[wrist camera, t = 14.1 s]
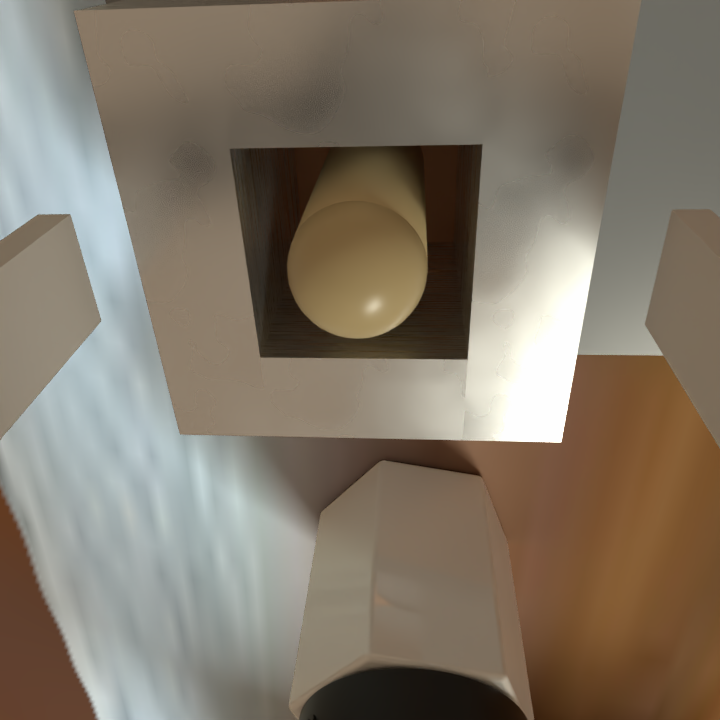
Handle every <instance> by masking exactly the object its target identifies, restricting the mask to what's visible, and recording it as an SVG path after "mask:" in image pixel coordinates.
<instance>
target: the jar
mask: <svg viewBox="0 0 720 720" xmlns="http://www.w3.org/2000/svg"><path fill="white" fill-rule="evenodd" d="M289 709H290V711H291V712H292V713H293V715H294V716H295V717H296V718H297V719H298V720H534V715H533V708H532V702H531V695H530V688H529V682H528V675H527V668H526V662H525V655H524V649H523V642H522V635H521V629H520V622H519V615H518V609H517V602H516V595H515V589H514V582H513V575H512V569H511V562H510V555H509V549H508V542H507V540H506V537H505V535H504V532H503V530H502V527H501V524H500V522H499V519H498V517H497V514H496V512H495V509H494V506H493V504H492V501H491V499H490V496H489V494H488V491H487V488H486V486H485V483H484V480H483V479H482V477H480V476H478V475H472V474H466V473H460V472H454V471H447V470H441V469H435V468H429V467H423V466H417V465H410V464H404V463H398V462H392V461H386V460H382V461H380V462H378V463H377V464H376V465H375V466H374V467H372V468H371V469H370V470H369V471H368V472H367V473H365V474H364V475H363V476H362V477H361V478H360V479H359V480H357V481H356V482H355V483H354V484H353V485H352V486H350V487H349V488H348V489H347V490H346V491H345V492H344V493H342V494H341V495H340V496H339V497H338V498H337V499H336V500H334V501H333V502H332V503H331V504H330V505H329V506H327V507H326V508H325V509H324V510H323V511H322V512H321V514H320V519H319V525H318V531H317V537H316V543H315V549H314V555H313V561H312V567H311V573H310V579H309V585H308V591H307V597H306V603H305V609H304V615H303V621H302V627H301V634H300V640H299V646H298V652H297V658H296V664H295V670H294V676H293V682H292V688H291V694H290V700H289Z"/></svg>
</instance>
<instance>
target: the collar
mask: <svg viewBox="0 0 720 720" xmlns="http://www.w3.org/2000/svg"><path fill="white" fill-rule="evenodd" d="M640 5H641V0H121V1H117V2H112V3H107V4H103V5H98V6H94V7H89V8H84V9H80V10H75V11H74V14H75V18H76V22H77V26H78V30H79V34H80V38H81V42H82V46H83V50H84V54H85V58H86V62H87V66H88V70H89V74H90V78H91V82H92V86H93V90H94V94H95V98H96V102H97V106H98V110H99V114H100V118H101V122H102V126H103V130H104V134H105V138H106V142H107V146H108V150H109V154H110V158H111V162H112V166H113V170H114V173H115V177H116V181H117V185H118V189H119V193H120V197H121V201H122V205H123V209H124V213H125V217H126V221H127V225H128V229H129V233H130V237H131V241H132V245H133V249H134V253H135V257H136V261H137V265H138V269H139V273H140V277H141V281H142V285H143V289H144V293H145V297H146V301H147V305H148V309H149V313H150V317H151V321H152V325H153V329H154V333H155V337H156V341H157V345H158V349H159V353H160V357H161V361H162V365H163V369H164V373H165V377H166V381H167V385H168V389H169V393H170V397H171V401H172V405H173V409H174V413H175V417H176V421H177V425H178V429H179V433H180V434H184V435H232V436H281V437H330V438H379V439H428V440H477V441H526V442H561V440H562V434H563V429H564V423H565V418H566V412H567V407H568V401H569V396H570V390H571V385H572V379H573V374H574V368H575V363H576V357H577V352H578V346H579V341H580V335H581V330H582V324H583V319H584V313H585V308H586V302H587V297H588V291H589V286H590V280H591V275H592V269H593V264H594V258H595V253H596V247H597V242H598V236H599V231H600V225H601V220H602V214H603V209H604V203H605V198H606V192H607V187H608V181H609V176H610V170H611V165H612V159H613V154H614V148H615V143H616V137H617V132H618V126H619V121H620V115H621V110H622V104H623V99H624V93H625V88H626V82H627V77H628V71H629V66H630V60H631V55H632V49H633V44H634V38H635V33H636V27H637V22H638V16H639V11H640ZM415 145H458V157H457V178H456V198H455V219H454V240H453V242H427V261H428V271H427V281H426V285H425V289H424V292H423V294H422V297H421V299H420V301H419V303H418V304H417V306H416V308H415V309H414V310H413V312H412V313H411V314H410V315H409V316H408V317H407V318H406V319H405V320H404V321H403V322H402V323H401V324H399V325H398V326H397V327H395V328H393V329H392V330H390V331H388V332H386V333H383V334H381V335H378V336H375V337H370V338H361V339H354V338H345V337H340V336H337V335H334V334H331V333H329V332H327V331H325V330H323V329H321V328H320V327H318V326H317V325H315V324H314V323H313V322H312V321H311V320H310V319H309V318H307V316H306V315H305V314H304V313H303V312H302V311H301V309H300V308H299V306H298V305H297V303H296V301H295V299H294V297H293V295H292V292H291V289H290V286H289V281H288V274H287V261H288V254H289V250H290V246H291V243H292V240H293V238H294V236H295V233H296V231H297V228H298V226H299V223H300V221H301V218H300V207H299V196H298V185H297V174H296V163H295V152H294V148H298V147H357V146H415Z"/></svg>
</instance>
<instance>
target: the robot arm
mask: <svg viewBox="0 0 720 720" xmlns="http://www.w3.org/2000/svg"><path fill="white" fill-rule="evenodd" d="M100 322H101V318H100V314H99V311H98V308H97V304H96V301H95V297H94V294H93V290H92V287H91V284H90V280H89V277H88V273H87V270H86V266H85V263H84V260H83V256H82V253H81V249H80V246H79V242H78V239H77V236H76V232H75V229H74V225H73V222H72V219H71V215H70V214H49V215H37V216H35V217H34V218H32V219H31V220H30V221H28V222H27V223H25V224H24V225H22V226H21V227H19V228H18V229H17V230H15V231H14V232H12V233H11V234H9V235H8V236H7V237H5V238H4V239H2V240H1V241H0V439H1V438H2V437H3V436H4V435H5V433H6V432H7V431H8V430H9V429H10V428H11V426H12V425H13V424H14V423H15V422H16V421H17V419H18V418H19V417H20V416H21V415H22V414H23V412H24V411H25V410H26V409H27V408H28V406H29V405H30V404H31V403H32V402H33V401H34V399H35V398H36V397H37V396H38V395H39V394H40V392H41V391H42V390H43V389H44V388H45V387H46V385H47V384H48V383H49V382H50V381H51V379H52V378H53V377H54V376H55V375H56V374H57V372H58V371H59V370H60V369H61V368H62V367H63V365H64V364H65V363H66V362H67V361H68V359H69V358H70V357H71V356H72V355H73V354H74V352H75V351H76V350H77V349H78V348H79V347H80V345H81V344H82V343H83V342H84V341H85V340H86V338H87V337H88V336H89V335H90V334H91V332H92V331H93V330H94V329H95V328H96V327H97V325H98V324H99V323H100ZM645 326H646V327H647V329H648V331H649V332H650V334H651V336H652V337H653V339H654V341H655V342H656V344H657V346H658V347H659V349H660V350H661V352H662V354H663V355H664V357H665V359H666V360H667V362H668V364H669V365H670V367H671V369H672V370H673V372H674V374H675V375H676V377H677V379H678V380H679V382H680V383H681V385H682V387H683V388H684V390H685V392H686V393H687V395H688V397H689V398H690V400H691V402H692V403H693V405H694V407H695V408H696V410H697V411H698V413H699V415H700V416H701V418H702V420H703V421H704V423H705V425H706V426H707V428H708V430H709V431H710V433H711V435H712V436H713V438H714V439H715V441H716V443H717V444H718V446H719V448H720V218H719V217H718V216H717V215H716V214H715V213H714V212H713V211H712V210H710V209H678V210H672V211H671V216H670V220H669V224H668V228H667V232H666V237H665V241H664V245H663V249H662V254H661V258H660V262H659V266H658V270H657V275H656V279H655V283H654V287H653V291H652V296H651V300H650V304H649V308H648V312H647V317H646V321H645Z"/></svg>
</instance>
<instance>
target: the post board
mask: <svg viewBox="0 0 720 720" xmlns="http://www.w3.org/2000/svg"><path fill="white" fill-rule="evenodd" d="M117 1H121V0H106V4H107V3H112V2H117ZM294 152H295V163H296V174H297V185H298V196H299V207H300V218H301V221H300V223H299V226H298V228H297V231H296V233H295V236H294V238H293V240H292V243H291V246H290V250H289V254H288V261H287V274H288V281H289V286H290V289H291V292H292V295H293V297H294V299H295V301H296V303H297V305H298V306H299V308H300V309H301V311H302V312H303V313H304V314H305V315H306V316H307V318H309V319H310V320H311V321H312V322H313V323H314V324H315V325H317V326H318V327H320V328H321V329H323V330H325V331H327V332H329V333H331V334H334V335H337V336H340V337H345V338H354V339H361V338H370V337H375V336H378V335H381V334H383V333H386V332H388V331H390V330H392V329H393V328H395V327H397V326H398V325H399V324H401V323H402V322H403V321H404V320H405V319H406V318H407V317H408V316H409V315H410V314H411V313H412V312H413V310H414V309H415V308H416V306H417V304H418V303H419V301H420V299H421V297H422V294H423V292H424V289H425V285H426V281H427V271H428V261H427V242H453V240H454V219H455V198H456V178H457V157H458V145H415V146H357V147H298V148H294ZM678 209H710V210H712V211H713V212H714V213H715V214H716V215H717V216H718V217H719V218H720V0H641V5H640V11H639V16H638V22H637V27H636V33H635V38H634V44H633V49H632V55H631V60H630V66H629V71H628V77H627V82H626V88H625V93H624V99H623V104H622V110H621V115H620V121H619V126H618V132H617V137H616V143H615V148H614V154H613V159H612V165H611V170H610V176H609V181H608V187H607V192H606V198H605V203H604V209H603V214H602V220H601V225H600V231H599V236H598V242H597V247H596V253H595V258H594V264H593V269H592V275H591V280H590V286H589V291H588V297H587V302H586V308H585V313H584V319H583V324H582V330H581V335H580V341H579V346H578V352H577V355H663V354H662V352H661V350H660V349H659V347H658V346H657V344H656V342H655V341H654V339H653V337H652V336H651V334H650V332H649V331H648V329H647V327H646V326H645V321H646V317H647V312H648V308H649V304H650V300H651V296H652V291H653V287H654V283H655V279H656V275H657V270H658V266H659V262H660V258H661V254H662V249H663V245H664V241H665V237H666V232H667V228H668V224H669V220H670V216H671V211H672V210H678Z"/></svg>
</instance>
